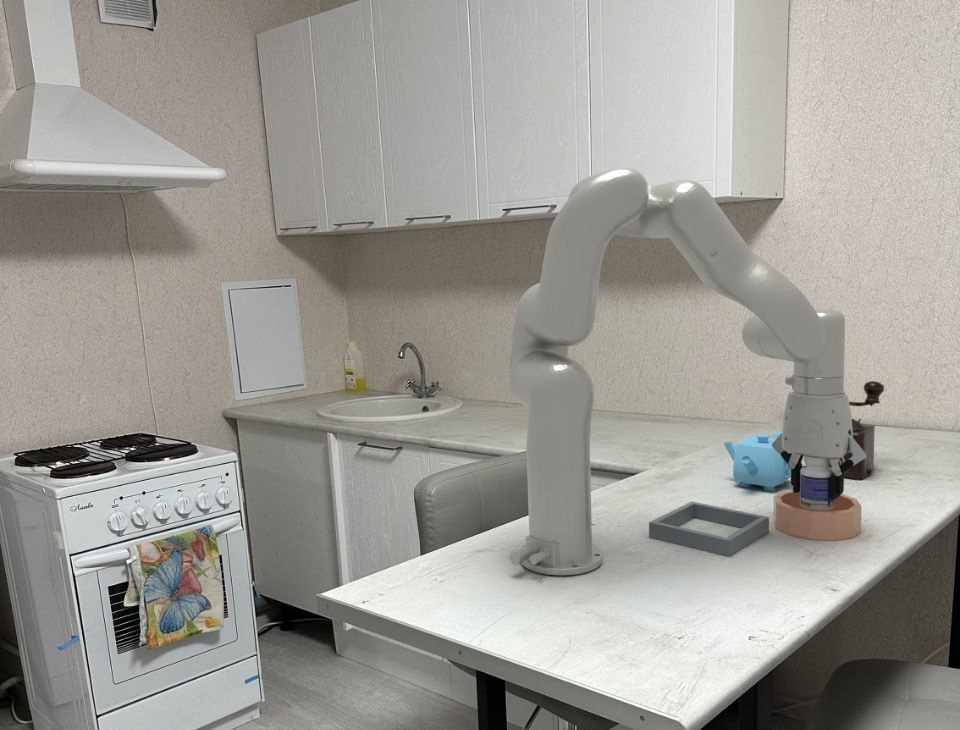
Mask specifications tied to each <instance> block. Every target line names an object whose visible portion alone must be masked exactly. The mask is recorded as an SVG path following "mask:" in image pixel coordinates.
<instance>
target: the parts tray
mask: <svg viewBox="0 0 960 730" xmlns="http://www.w3.org/2000/svg"><path fill="white" fill-rule="evenodd" d="M692 519H698V520H702V519H703V521H708V522H713V523H716V522H717V523H716V524H722V525H726V526H730V527H734V528H735V527H736V528H739V530H737V531H735V532H733V533H732V534H730V535H728V536H720V535H716V534H712V533H708V532H703V531H700V530H694V529H689V528H686V527H681V526H680V525H683V524H685V523H686V522H688V521H690V520H692ZM769 528H770V517H769V516H765V515H760V514H756V513H751V512H747V511H740V510H736V509H733V508H727V507H721V506H717V505H710V504H707V503H706V504H705V503H702V502H701V503H700V502H697V501H696V502H695V501H690V502H687V503H686V504H684V505H682V506H680V507H677V508H676V509H675V508H674V509H673V510H671V511H668V512H666V513H665V514H663V515H661V516H659V517H657V518H655V519H652V520H650V521H649V522H648V537H649V538H652V539H656V540H659V541H660V540H661V541H664V542H669V543H673V544H676V545H680V546H685V547H688V548H692V549H697V550H701V551H705V552H710V553H714V554H717V555H721V556H725V557H728V558H729V557H731V556H733V555H734V554H736V553H738V551H741V550H742V549H744V548H746V546H748V545H750V544H752V543H753V542H755V541H756V540H757V539H759V538H761V537H763V536H764V535H766V534H767V533H769V532H770V529H769Z"/></svg>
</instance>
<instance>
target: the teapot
mask: <svg viewBox="0 0 960 730" xmlns="http://www.w3.org/2000/svg"><path fill="white" fill-rule="evenodd" d="M781 434H782V430H777V431H776V432H775V433H774V435H773V437H770V435H768V434H766V433H764V434H763V433H759V434H757V435H753V436H750V437H747V438H745V439H743V440H740V441H739V442H737V443H736V445H735V444H734V443H732V441H725V442H724V443H723V445H724V447H725V448H726V450H727V452H728V454H729V455H730V458H731V459H732V461H733V467H732V469H733V471H732V473H733V479H734V482H737V483H740V484H739V487H741V488H750V487H751V486H752V485H755V486H761V487H763V488H764V491H765V492H775V491H776V488H775V487H776V486H785V485H786V484H785V482H787V480H788V479H791V469H790V468H789V467H788V464H787V463H786V461H785V460H784V459H783V458H782V457H781V455H780V454H779V453H778V452H777V451H776V450H775V449H774V448H773V447H772V443H773V442H774V441H775V440H776V439H777V438H778V437H779V436H780V435H781Z"/></svg>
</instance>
